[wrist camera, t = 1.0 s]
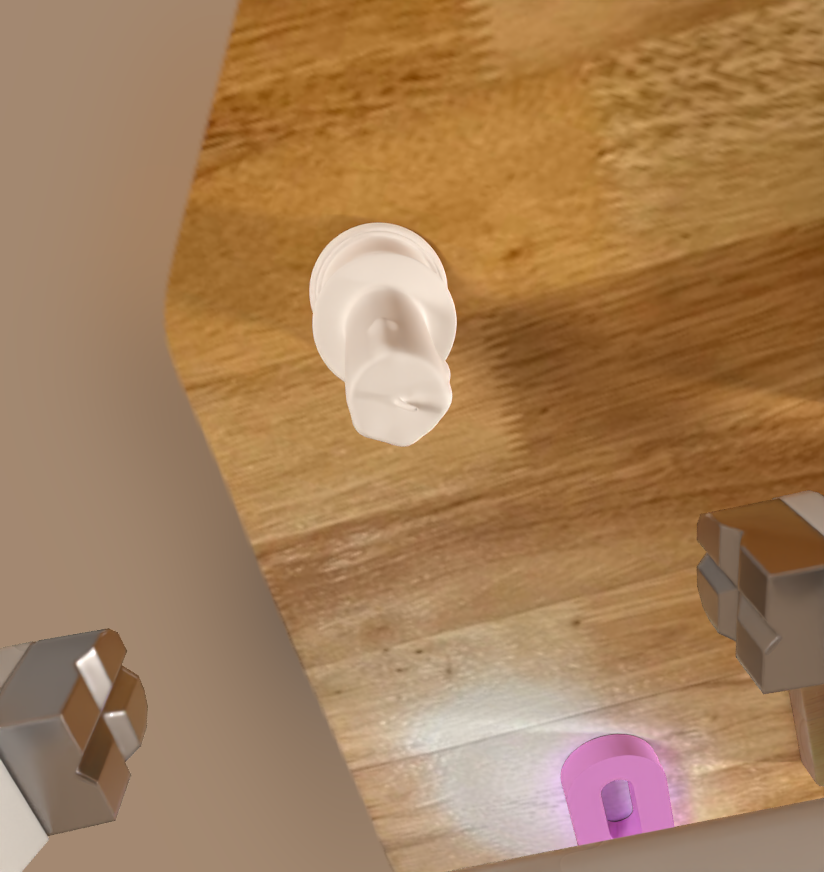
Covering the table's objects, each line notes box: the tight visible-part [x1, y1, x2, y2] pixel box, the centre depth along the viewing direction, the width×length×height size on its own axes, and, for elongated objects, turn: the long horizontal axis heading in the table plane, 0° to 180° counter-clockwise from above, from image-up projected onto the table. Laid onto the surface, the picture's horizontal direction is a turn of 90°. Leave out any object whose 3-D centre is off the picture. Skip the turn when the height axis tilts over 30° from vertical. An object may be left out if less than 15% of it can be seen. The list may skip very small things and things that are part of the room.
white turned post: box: [309, 223, 456, 447], centre depth 21 cm, size 5×5×12 cm
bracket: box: [561, 734, 674, 846], centre depth 37 cm, size 13×6×7 cm, turn 15°
